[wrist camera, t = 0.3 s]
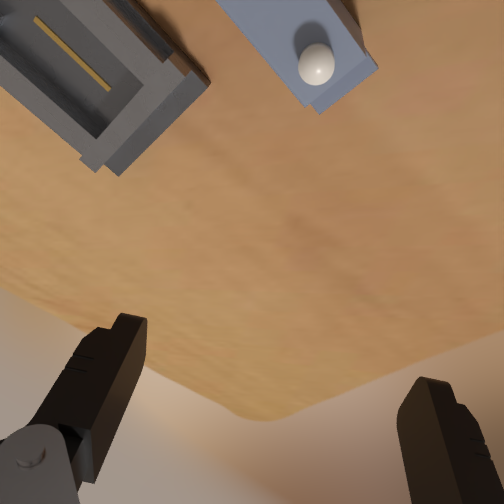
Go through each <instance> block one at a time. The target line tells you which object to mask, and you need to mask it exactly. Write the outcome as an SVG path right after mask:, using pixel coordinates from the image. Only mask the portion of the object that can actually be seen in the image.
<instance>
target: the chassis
mask: <svg viewBox="0 0 504 504" xmlns="http://www.w3.org/2000/svg"><path fill="white" fill-rule="evenodd" d="M210 84H211V82H210V81H209V80H208V79H207V78H206V77H205V75H204V74H203V73H202V72H201V71H200V70H199V69H198V68H197V67H196V66H195V65H194V63H193V62H192V61H191V60H190V59H189V58H188V57H187V56H186V55H185V54H184V53H183V52H182V50H181V49H180V48H179V47H178V46H177V45H176V44H175V43H174V42H173V41H172V40H171V38H170V37H169V36H168V35H167V34H166V33H165V32H164V31H163V30H162V29H161V28H160V26H159V25H158V24H157V23H156V22H155V21H154V20H153V19H152V18H151V17H150V16H149V14H148V13H147V12H146V11H145V10H144V9H143V8H142V7H141V6H140V5H139V4H138V3H137V1H136V0H0V86H1V87H3V88H4V89H5V90H6V91H7V92H8V93H10V94H11V95H12V96H13V97H14V98H15V99H17V100H18V101H19V102H20V103H21V104H22V105H24V106H25V107H26V108H27V109H28V110H30V111H31V112H32V113H33V114H34V115H35V116H37V117H38V118H39V119H40V120H41V121H42V122H44V123H45V124H46V125H47V126H48V127H49V128H51V129H52V130H53V131H54V132H55V133H57V134H58V135H59V136H60V137H61V138H62V139H64V140H65V141H66V142H67V143H68V144H69V145H71V146H72V147H73V148H74V149H75V150H77V151H78V152H79V153H80V154H81V155H82V157H81V158H80V159H79V160H81V161H82V162H83V163H84V164H85V165H86V166H88V167H89V168H90V169H91V170H92V171H94V172H95V173H96V172H97V171H98V170H99V169H100V168H101V166H102V165H103V164H104V165H105V166H107V167H108V168H109V169H110V170H111V171H112V172H114V173H115V174H116V175H117V176H118V177H119V176H120V175H121V174H122V173H123V172H124V171H125V170H126V169H127V168H128V167H129V166H130V165H131V164H132V163H133V162H134V161H135V160H136V159H137V158H138V157H139V156H140V155H141V154H142V153H143V152H144V151H145V150H146V149H147V148H148V147H149V146H150V145H151V144H152V143H153V142H154V141H155V140H156V139H157V138H158V137H159V136H160V135H161V134H162V133H163V132H164V131H165V130H166V129H167V128H168V127H169V126H170V125H171V124H172V123H173V122H174V121H175V120H176V119H177V118H178V117H179V116H180V115H181V114H182V113H183V112H184V111H185V110H186V109H187V108H188V107H189V106H190V105H191V104H192V103H193V102H194V101H195V100H196V99H197V98H198V97H199V96H200V95H201V94H202V93H203V92H204V91H205V90H206V89H207V88H208V87H209V85H210Z"/></svg>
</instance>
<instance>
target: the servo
mask: <svg viewBox="0 0 504 504" xmlns="http://www.w3.org/2000/svg"><path fill="white" fill-rule="evenodd" d="M216 2H217V3H218V4H219V5H220V6H221V8H222V9H223V10H224V11H225V12H226V14H227V15H228V16H229V17H230V18H231V20H232V21H233V22H234V23H235V24H236V26H237V27H238V28H239V29H240V30H241V32H242V33H243V34H244V35H245V36H246V38H247V39H248V40H249V41H250V42H251V44H252V45H253V46H254V47H255V48H256V50H257V51H258V52H259V53H260V54H261V56H262V57H263V58H264V59H265V60H266V62H267V63H268V64H269V65H270V66H271V68H272V69H273V70H274V71H275V72H276V74H277V75H278V76H279V77H280V78H281V80H282V81H283V82H284V83H285V84H286V86H287V87H288V88H289V89H290V90H291V92H292V93H293V94H294V95H295V97H296V98H297V99H298V100H299V101H300V103H301V104H302V105H303V106H304V107H306V106H308V105H309V104H311V105H312V106H313V108H314V109H315V110H316V111H317V113H318V114H319V115H320V114H321V113H322V112H324V111H325V110H326V109H327V108H329V107H330V106H331V105H333V104H334V103H335V102H336V101H338V100H339V99H340V98H341V97H343V96H344V95H345V94H347V93H348V92H349V91H350V90H352V89H353V88H354V87H356V86H357V85H358V84H359V83H361V82H362V81H363V80H365V79H366V78H367V77H368V76H370V75H371V74H372V73H373V72H375V71H376V70H377V69H378V65H377V64H376V62H375V61H374V59H373V58H372V57H371V55H370V54H369V52H368V51H367V49H366V48H365V46H364V41H363V36H362V31H361V29H360V27H359V26H358V25H357V23H356V22H355V20H354V19H353V17H352V16H351V15H350V13H349V12H348V10H347V9H346V7H345V6H344V4H343V3H342V2H341V0H216Z"/></svg>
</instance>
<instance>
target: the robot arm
mask: <svg viewBox="0 0 504 504" xmlns="http://www.w3.org/2000/svg"><path fill="white" fill-rule="evenodd" d="M146 339H147V318H144V317H139V316H135V315H130V314H125V313H120V314H119V315H118V317H117V319H116V321H115V322H114V324H113V326H112V328H111V329H105V328H100V327H97V328H96V329H94V330H93V331H92V332H90V333H89V334H88V335H87V336H85V337H84V338H83V339H82V340H81V342H80V343H79V345H78V346H77V348H76V350H75V351H74V353H73V356H72V357H71V358H70V359H69V361H68V363H67V364H66V366H65V369H64V370H62V372H61V374H60V375H59V377H58V379H57V380H56V382H55V383H54V385H53V387H52V388H51V390H50V391H49V393H48V395H47V396H46V398H45V399H44V401H43V403H42V404H41V406H40V407H39V409H38V411H37V412H36V414H35V415H34V417H33V418H32V420H31V421H30V422H29V423H28V424H27V425H26V426H25V427H23V428H21V429H19V430H17V431H16V432H14V433H12V434H11V435H10V436H8V437H7V438H6V439H3V440H0V504H80V502H79V498H78V494H77V493H78V490H79V488H80V486H81V484H82V481H84V482H88V483H95V481H96V479H97V476H98V474H99V472H100V469H101V467H102V465H103V462H104V460H105V457H106V455H107V453H108V450H109V448H110V446H111V443H112V441H113V439H114V436H115V434H116V431H117V429H118V426H119V424H120V422H121V420H122V417H123V415H124V412H125V410H126V408H127V405H128V403H129V400H130V398H131V396H132V393H133V391H134V389H135V386H136V384H137V382H138V379H139V376H140V374H141V372H142V369H143V365H144V361H145V356H146ZM397 432H398V436H399V442H400V446H401V452H402V457H403V462H404V466H405V472H406V477H407V481H408V487H409V491H410V497H411V502H412V504H504V489H503V487H502V484H501V482H500V479H499V476H498V474H497V471H496V469H495V466H494V463H493V461H492V460H491V459H490V457H491V456H490V453H489V450H488V448H487V445H485V440H484V437H483V435H482V432H481V429H480V427H479V424H478V422H477V421H476V419H475V418H474V417H473V415H472V414H471V413H470V411H469V410H468V409H467V407H466V406H465V405H463V404H459V403H457V402H456V399H455V396H454V393H453V390H452V388H451V385H450V384H449V383H448V382H445V381H440V380H436V379H431V378H426V377H419V378H418V379H417V380H416V381H415V383H414V385H413V386H412V388H411V390H410V391H409V393H408V394H407V396H406V398H405V399H404V401H403V403H402V404H401V406H400V408H399V410H398V414H397Z"/></svg>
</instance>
